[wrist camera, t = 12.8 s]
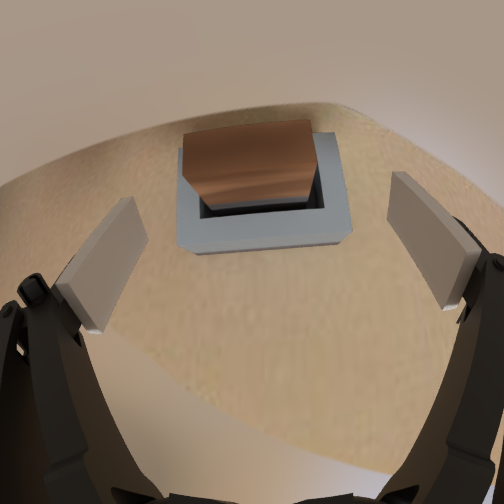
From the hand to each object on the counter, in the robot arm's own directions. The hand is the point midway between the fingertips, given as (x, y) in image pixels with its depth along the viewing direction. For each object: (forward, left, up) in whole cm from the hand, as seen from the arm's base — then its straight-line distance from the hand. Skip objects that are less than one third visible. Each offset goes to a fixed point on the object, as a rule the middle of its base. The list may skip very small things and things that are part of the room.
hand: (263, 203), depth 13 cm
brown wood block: (-5, +1, -13) cm, 14 cm away
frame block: (-4, +1, -14) cm, 15 cm away
